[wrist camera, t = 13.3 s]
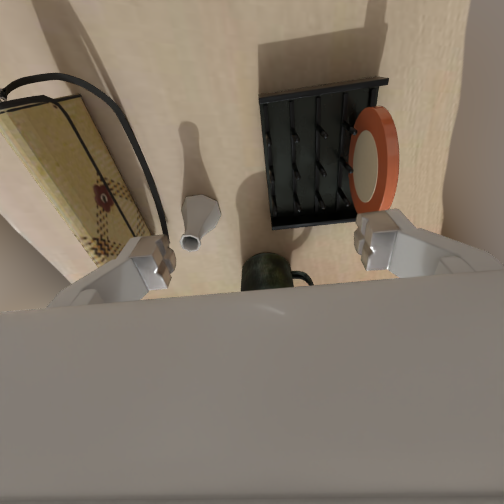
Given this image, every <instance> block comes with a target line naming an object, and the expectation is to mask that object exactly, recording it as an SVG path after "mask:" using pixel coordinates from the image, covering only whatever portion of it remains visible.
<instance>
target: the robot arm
mask: <svg viewBox="0 0 504 504" xmlns="http://www.w3.org/2000/svg"><path fill="white" fill-rule="evenodd" d="M356 225H357V226H358V228H357V230H356V231H355V232H354V246H355V249H356V251H357V253H358V254H360V255H362V256H361V261H362V263H363V265H364V267H365V269H366V271H369V270H385V269H389V271H390V272H392V273H393V274H395V275H396V276H398V277H399V278H395V279H383V280H371V281H359V282H348V283H336V284H324V285H313V286H301V287H289V288H278V289H266V290H254V291H242V292H231V293H219V294H207V295H195V296H184V297H172V298H160V299H148V300H140V299H141V298H143V297H144V296H145V295H146V294H147V293H148V292H149V290H157V289H166V288H168V286H169V283H170V280H171V278H172V277H171V275H170V274H171V273H172V272H173V271H174V270H175V267H176V257H175V253H174V251H173V250H172V249H171V248H169V247H168V246H169V244H170V241H169V239H168V237H167V236H166V235H165V234H163V235H151V236H140V237H133V238H130V239H129V241H128V242H127V244H126V245H125V246H124V248H123V249H122V251H121V252H120V254H119V255H118V257H117V258H116V259H113V260H111V261H109V262H107V263H106V264H104V265H102V266H101V267H99V268H97V269H96V270H94V271H92V272H91V273H89V274H88V275H86V276H84V277H83V278H81V279H79V280H78V281H76V282H74V283H73V284H71V285H69V286H68V287H66V288H65V289H63V290H61V291H60V292H59V293H58V294H57V295H56V297H55V298H54V299H53V300H52V301H51V302H50V304H49V305H48V306H47V307H46V308H44V309H31V310H20V311H7V312H0V504H504V265H503V264H502V263H501V262H500V261H498V260H497V259H496V258H495V257H494V256H493V255H491V254H490V253H489V252H487V251H484V250H481V249H478V248H475V247H473V246H470V245H467V244H464V243H461V242H458V241H455V240H453V239H450V238H447V237H444V236H441V235H439V234H436V233H433V232H430V231H427V230H424V229H422V228H418V229H417V228H416V227H415V226H414V225H413V224H412V223H411V222H410V221H409V220H408V219H407V218H406V217H405V215H404V214H403V213H402V212H401V211H400V210H399V209H396V208H395V209H388V210H381V211H373V212H366V213H359V214H357V217H356Z"/></svg>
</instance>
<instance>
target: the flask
mask: <svg viewBox="0 0 504 504" xmlns="http://www.w3.org/2000/svg"><path fill="white" fill-rule="evenodd" d="M181 212H182V216H183V220H184V226H185V234H183V235H182V237H181V240H180V244H181V247H182V249H185V250H187V251H190V252H191V251H198V249H199V247H200V245H201V242H200V240H201V238H202V237H203V236H204V235H205V234H207V233H208V232H209V231H211V230H212V229H214V228H215V227H216V225H217V223H218V221H219V219H220V217H221V214H220V210H219V206H218V202H217V201H215V200H213V199H211V198H208V197H206V196H204V195H196V196H189V197H186V199H185V202H184V204H183V207H182V209H181Z"/></svg>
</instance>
